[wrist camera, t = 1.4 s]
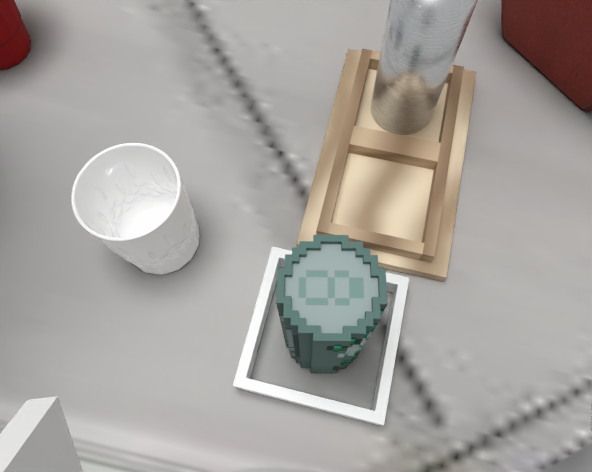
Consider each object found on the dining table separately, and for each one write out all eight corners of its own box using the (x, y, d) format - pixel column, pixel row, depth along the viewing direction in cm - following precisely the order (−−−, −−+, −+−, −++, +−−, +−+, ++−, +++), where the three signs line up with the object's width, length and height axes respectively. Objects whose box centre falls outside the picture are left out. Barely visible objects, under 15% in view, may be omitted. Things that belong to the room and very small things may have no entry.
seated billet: (364, 128, 48) (388, 1, 34) (376, 78, 50) (403, -61, 36) (427, 140, 47) (478, 16, 33) (436, 89, 49) (488, -48, 35)
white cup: (224, 228, 45) (202, 176, 36) (168, 298, 43) (130, 261, 34) (158, 185, 47) (121, 125, 38) (101, 250, 45) (47, 203, 36)
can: (360, 373, 40) (389, 341, 26) (286, 372, 41) (275, 340, 27) (358, 300, 43) (383, 235, 29) (287, 299, 43) (278, 234, 29)
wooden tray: (297, 248, 44) (296, 237, 42) (347, 57, 52) (349, 38, 50) (442, 281, 43) (451, 272, 41) (472, 80, 51) (480, 61, 48)
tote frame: (237, 388, 40) (232, 385, 38) (274, 256, 44) (272, 246, 42) (379, 425, 39) (383, 425, 37) (403, 286, 43) (409, 277, 41)
